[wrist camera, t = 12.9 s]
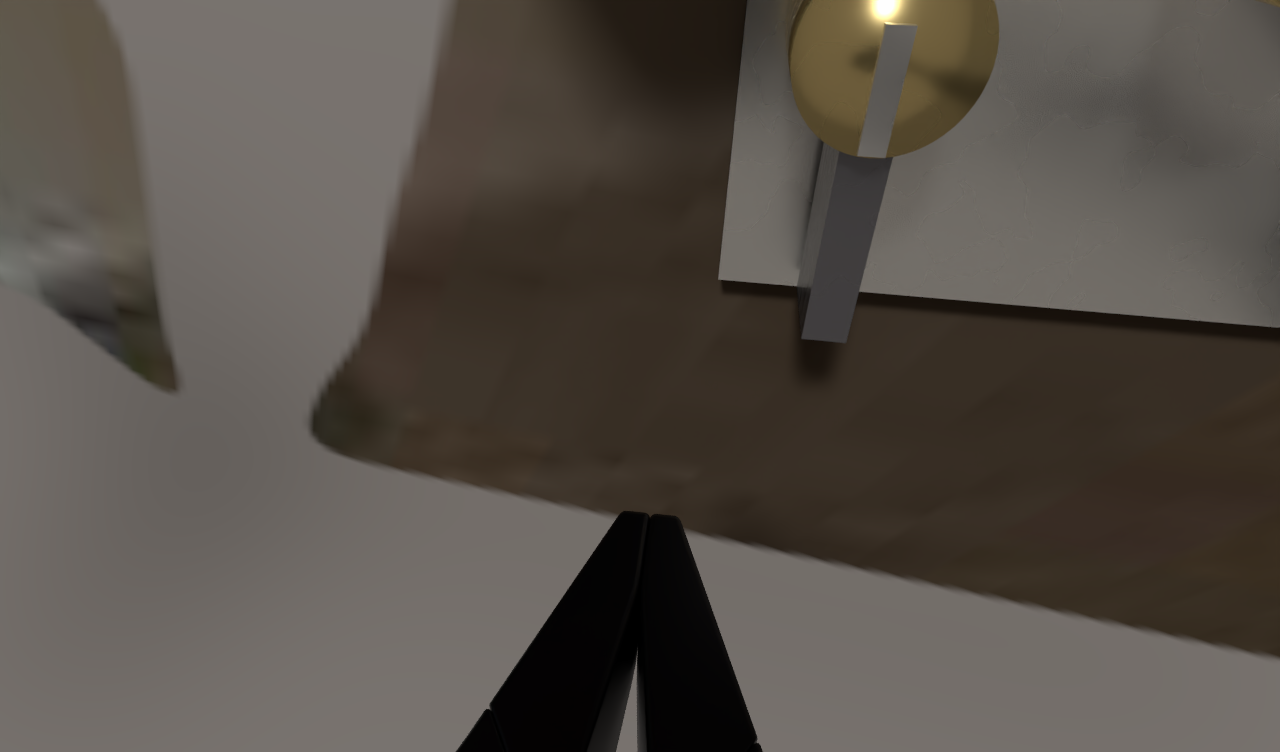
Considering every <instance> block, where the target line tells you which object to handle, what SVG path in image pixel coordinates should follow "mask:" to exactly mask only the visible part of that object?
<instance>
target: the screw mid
mask: <svg viewBox="0 0 1280 752" xmlns="http://www.w3.org/2000/svg"><path fill="white" fill-rule="evenodd" d="M1256 1H1259V2H1262V3H1266V4H1269V5H1272V6H1276V7H1279V8H1280V0H1256Z"/></svg>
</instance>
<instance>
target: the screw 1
mask: <svg viewBox="0 0 1280 752" xmlns="http://www.w3.org/2000/svg"><path fill="white" fill-rule="evenodd" d="M785 39H786V50H787V57H788V64H789V71H790V78H791V84H792V90H793V95H794V99H795V102H796V105H797V108H798V110H799V112H800V114H801V116H802V118H803V119H804V121H805V122H806V124H807V125H808V127H809V128H810V129H811V130H812V132H813V133H814V134H815V135H816V136H817V137H818V138H820V139H821V140H822V141H823V142H824V144H823V150H822V155H821V160H820V166H819V171H818V176H817V182H816V187H815V192H814V198H813V203H812V208H811V214H810V219H809V224H808V230H807V235H806V240H805V246H804V251H803V256H802V262H801V267H800V272H799V278H798V283H797V296H798V307H799V318H800V329H801V339H809V340H819V341H830V342H841V343H846V341H847V337H848V333H849V329H850V325H851V321H852V317H853V313H854V309H855V305H856V301H857V297H858V294H859V290H860V286H861V282H862V278H863V274H864V270H865V266H866V262H867V258H868V254H869V250H870V246H871V242H872V238H873V234H874V230H875V226H876V223H877V219H878V215H879V211H880V207H881V203H882V199H883V195H884V191H885V187H886V183H887V179H888V175H889V171H890V167H891V163H892V159H893V157H895V156H900V155H904V154H907V153H910V152H913V151H916V150H918V149H921V148H923V147H925V146H927V145H929V144H931V143H932V142H934V141H936V140H937V139H939V138H940V137H942V136H943V135H945V134H946V133H947V132H948V131H950V130H951V129H952V128H953V127H955V126H956V125H957V124H958V123H959V122H960V121H961V120H962V119H963V118H964V117H965V116H966V114H967V113H968V112H969V111H970V110H971V108H972V107H973V106H974V104H975V103H976V101H977V100H978V98H979V97H980V95H981V94H982V92H983V90H984V88H985V86H986V84H987V82H988V81H989V78H990V75H991V73H992V70H993V68H994V64H995V60H996V56H997V52H998V44H999V20H998V13H997V8H996V5H995V2H994V0H792V1H791V5H790V8H789V11H788V16H787V21H786V31H785Z"/></svg>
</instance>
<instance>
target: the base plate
mask: <svg viewBox="0 0 1280 752" xmlns="http://www.w3.org/2000/svg"><path fill="white" fill-rule="evenodd" d="M791 1H792V0H747V7H746V17H745V26H744V36H743V46H742V55H741V65H740V74H739V84H738V94H737V103H736V113H735V122H734V132H733V142H732V151H731V161H730V170H729V180H728V190H727V199H726V209H725V218H724V228H723V238H722V247H721V257H720V267H719V277H718V280H730V281H741V282H753V283H765V284H776V285H788V286H797V283H798V278H799V272H800V267H801V262H802V256H803V251H804V246H805V240H806V235H807V230H808V224H809V219H810V214H811V208H812V203H813V198H814V192H815V187H816V182H817V176H818V171H819V166H820V160H821V155H822V150H823V144H824V142H823V141H822V140H821V139H820V138H818V137H817V136H816V135H815V134H814V133H813V132H812V130H811V129H810V128H809V127H808V125H807V124H806V122H805V121H804V119H803V118H802V116H801V114H800V112H799V110H798V108H797V105H796V102H795V99H794V95H793V90H792V84H791V78H790V71H789V64H788V57H787V50H786V39H785V31H786V21H787V16H788V11H789V8H790V5H791ZM994 2H995V5H996V8H997V13H998V20H999V44H998V52H997V56H996V60H995V64H994V68H993V70H992V73H991V75H990V78H989V81H988V82H987V84H986V86H985V88H984V90H983V92H982V94H981V95H980V97H979V98H978V100H977V101H976V103H975V104H974V106H973V107H972V108H971V110H970V111H969V112H968V113H967V114H966V116H965V117H964V118H963V119H962V120H961V121H960V122H959V123H958V124H957V125H956V126H955V127H953V128H952V129H951V130H950V131H948V132H947V133H946V134H945V135H943V136H942V137H940V138H939V139H937V140H936V141H934V142H932V143H931V144H929V145H927V146H925V147H923V148H921V149H918V150H916V151H913V152H910V153H907V154H904V155H900V156H895V157H893V159H892V163H891V167H890V171H889V175H888V179H887V183H886V187H885V191H884V195H883V199H882V203H881V207H880V211H879V215H878V219H877V223H876V226H875V230H874V234H873V238H872V242H871V246H870V250H869V254H868V258H867V262H866V266H865V270H864V274H863V278H862V282H861V286H860V290H859V292H869V293H881V294H893V295H904V296H916V297H928V298H939V299H951V300H963V301H974V302H986V303H997V304H1009V305H1021V306H1032V307H1044V308H1056V309H1067V310H1079V311H1091V312H1102V313H1114V314H1126V315H1137V316H1149V317H1160V318H1172V319H1184V320H1195V321H1207V322H1219V323H1230V324H1242V325H1254V326H1265V327H1277V328H1280V8H1279V7H1276V6H1272V5H1269V4H1266V3H1262V2H1259V1H1256V0H994Z"/></svg>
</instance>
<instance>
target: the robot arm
mask: <svg viewBox="0 0 1280 752" xmlns="http://www.w3.org/2000/svg"><path fill="white" fill-rule="evenodd" d="M637 651H638V655H637ZM637 656H638V657H637ZM636 657H637V736H638V737H637V739H638V740H637V743H638V752H762V749H761V746H760V745H759V743H756V742H757V735H756V732H755V729H754V727H753V724H752V721H751V718H750V715H749V713H748V710H747V707H746V704H745V701H744V698H743V696H742V693H741V690H740V687H739V684H738V681H737V679H736V676H735V673H734V670H733V667H732V665H731V662H730V659H729V656H728V653H727V650H726V648H725V645H724V642H723V639H722V636H721V633H720V631H719V628H718V625H717V622H716V619H715V617H714V614H713V611H712V608H711V605H710V602H709V600H708V597H707V594H706V591H705V588H704V586H703V583H702V580H701V577H700V574H699V571H698V569H697V566H696V563H695V560H694V557H693V554H692V552H691V549H690V546H689V543H688V540H687V537H686V535H685V532H684V529H683V526H682V523H681V521H680V519H679V518H678V517H676V516H671V515H661V514H654V515H652V516H651V518H650V517H649V515H648V514H647V513H642V512H633V511H623V512H622V513H620V514H619V516H618V517H617V518H616V520H615V521H614V523H613V524H612V526H611V527H610V529H609V530H608V532H607V533H606V535H605V536H604V537H603V539H602V540H601V542H600V543H599V545H598V546H597V548H596V549H595V551H594V552H593V554H592V555H591V556H590V558H589V559H588V561H587V562H586V564H585V565H584V567H583V568H582V570H581V571H580V573H579V574H578V575H577V577H576V578H575V580H574V581H573V583H572V584H571V586H570V587H569V589H568V590H567V592H566V593H565V595H564V596H563V598H562V599H561V600H560V602H559V603H558V605H557V606H556V608H555V609H554V611H553V612H552V614H551V615H550V616H549V618H548V619H547V621H546V622H545V624H544V625H543V627H542V628H541V630H540V631H539V633H538V634H537V635H536V637H535V638H534V640H533V641H532V643H531V644H530V646H529V647H528V648H527V650H526V652H525V653H524V654H523V656H522V657H521V659H520V660H519V662H518V663H517V665H516V666H515V667H514V669H513V670H512V672H511V673H510V675H509V676H508V678H507V679H506V681H505V682H504V684H503V685H502V686H501V688H500V689H499V691H498V692H497V694H496V695H495V697H494V698H493V700H492V701H491V703H490V705H489V706H490V709H486V710H485V711H484V712H483V714H482V715H481V717H480V718H479V720H478V721H477V722H476V724H475V725H474V727H473V728H472V730H471V731H470V733H469V734H468V736H467V737H466V738H465V740H464V741H463V742H462V744H461V745H460V747H459V748H458V750H457V751H456V752H616V749H617V744H618V740H619V735H620V731H621V727H622V723H623V718H624V714H625V710H626V705H627V700H628V697H629V692H630V688H631V684H632V679H633V674H634V669H635V664H636Z"/></svg>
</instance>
